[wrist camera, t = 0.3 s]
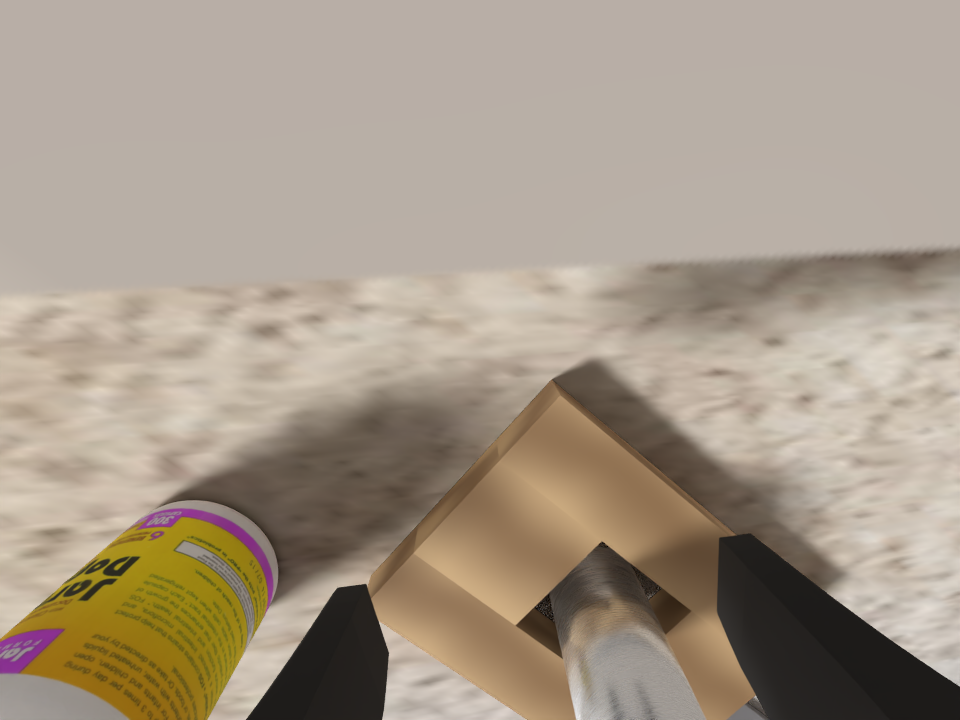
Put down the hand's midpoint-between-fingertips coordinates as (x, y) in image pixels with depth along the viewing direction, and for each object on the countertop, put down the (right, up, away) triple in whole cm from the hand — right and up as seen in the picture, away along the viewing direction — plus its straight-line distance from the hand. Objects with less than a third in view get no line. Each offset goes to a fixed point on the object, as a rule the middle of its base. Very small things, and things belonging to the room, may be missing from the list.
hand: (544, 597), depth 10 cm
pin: (+4, -5, +12) cm, 14 cm away
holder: (+4, -5, +12) cm, 14 cm away
